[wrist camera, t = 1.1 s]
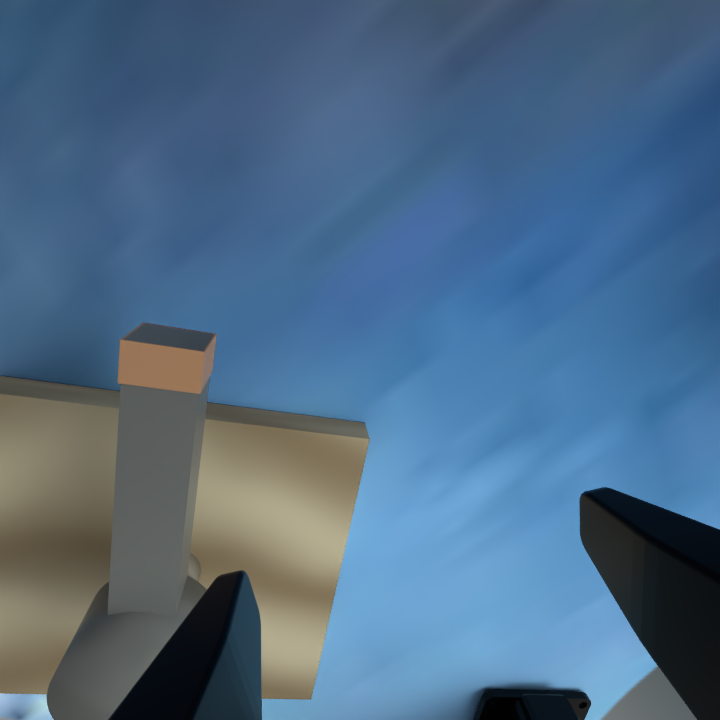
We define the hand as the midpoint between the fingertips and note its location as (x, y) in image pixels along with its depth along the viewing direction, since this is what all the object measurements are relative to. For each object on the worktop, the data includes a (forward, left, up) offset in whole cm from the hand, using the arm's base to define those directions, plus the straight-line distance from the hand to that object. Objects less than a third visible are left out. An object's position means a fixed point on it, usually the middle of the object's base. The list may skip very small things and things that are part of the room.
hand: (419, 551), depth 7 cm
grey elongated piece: (-6, +6, -8) cm, 12 cm away
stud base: (-10, +6, -12) cm, 17 cm away
